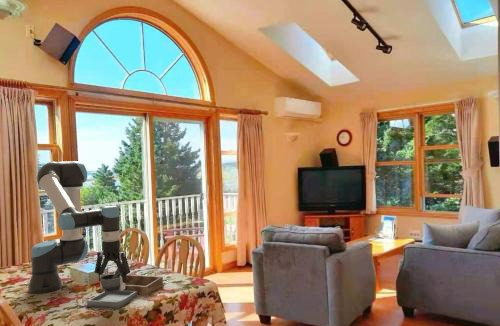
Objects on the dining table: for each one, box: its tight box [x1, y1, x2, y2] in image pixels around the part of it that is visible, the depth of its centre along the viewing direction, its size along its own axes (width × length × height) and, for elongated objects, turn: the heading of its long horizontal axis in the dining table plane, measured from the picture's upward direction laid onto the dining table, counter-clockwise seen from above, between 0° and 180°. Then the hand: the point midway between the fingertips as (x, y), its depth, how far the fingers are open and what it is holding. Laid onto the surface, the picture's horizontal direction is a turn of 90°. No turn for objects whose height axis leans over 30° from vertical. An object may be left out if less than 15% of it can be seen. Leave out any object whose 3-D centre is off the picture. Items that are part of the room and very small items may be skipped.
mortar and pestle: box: [99, 267, 121, 294], centre depth 178 cm, size 11×9×12 cm
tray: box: [86, 290, 138, 310], centre depth 178 cm, size 16×16×3 cm
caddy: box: [102, 274, 164, 297], centre depth 195 cm, size 24×16×4 cm, turn 75°
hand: (112, 288), depth 178 cm, fingers closed on mortar and pestle, 10 cm apart
